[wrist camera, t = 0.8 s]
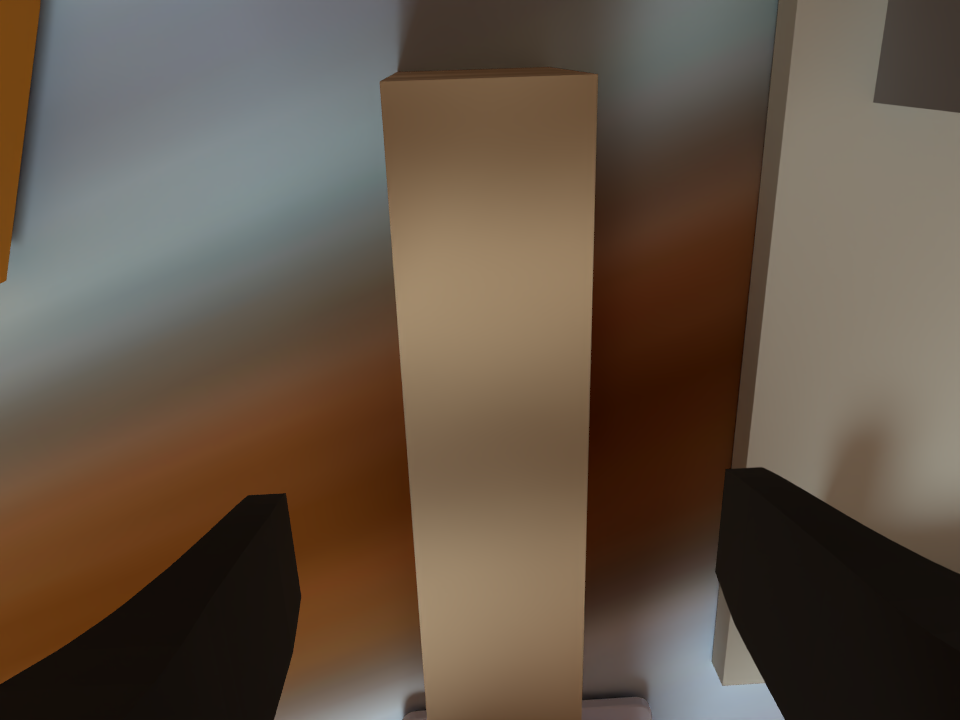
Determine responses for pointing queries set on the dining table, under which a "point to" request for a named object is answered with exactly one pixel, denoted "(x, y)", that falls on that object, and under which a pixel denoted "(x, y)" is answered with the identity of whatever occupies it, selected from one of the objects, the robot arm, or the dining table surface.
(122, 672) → the robot arm
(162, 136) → the dining table surface
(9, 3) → the bracket
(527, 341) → the wooden block
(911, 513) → the cradle
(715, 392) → the dining table surface
